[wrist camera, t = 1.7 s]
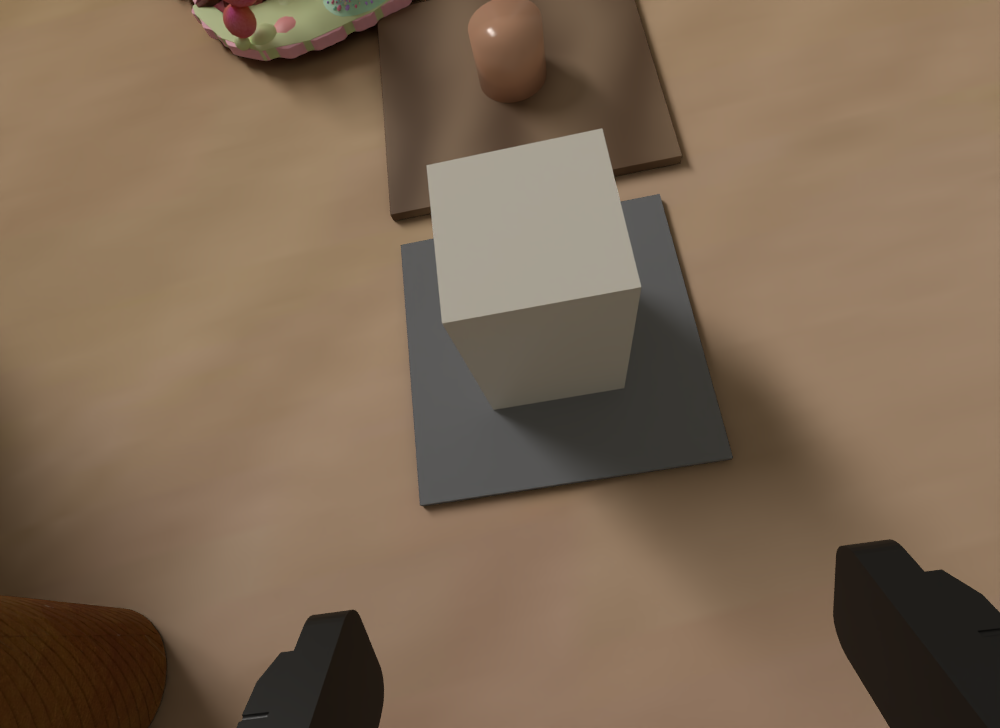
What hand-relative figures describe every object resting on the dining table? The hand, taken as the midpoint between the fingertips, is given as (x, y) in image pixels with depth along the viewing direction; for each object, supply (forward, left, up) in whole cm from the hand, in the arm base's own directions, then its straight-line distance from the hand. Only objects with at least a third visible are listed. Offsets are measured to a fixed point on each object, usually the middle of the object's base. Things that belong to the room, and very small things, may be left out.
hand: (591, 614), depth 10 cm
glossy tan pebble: (-21, +20, -15) cm, 32 cm away
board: (-21, +20, -16) cm, 33 cm away
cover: (-9, +8, -15) cm, 19 cm away
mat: (-9, +8, -16) cm, 19 cm away
